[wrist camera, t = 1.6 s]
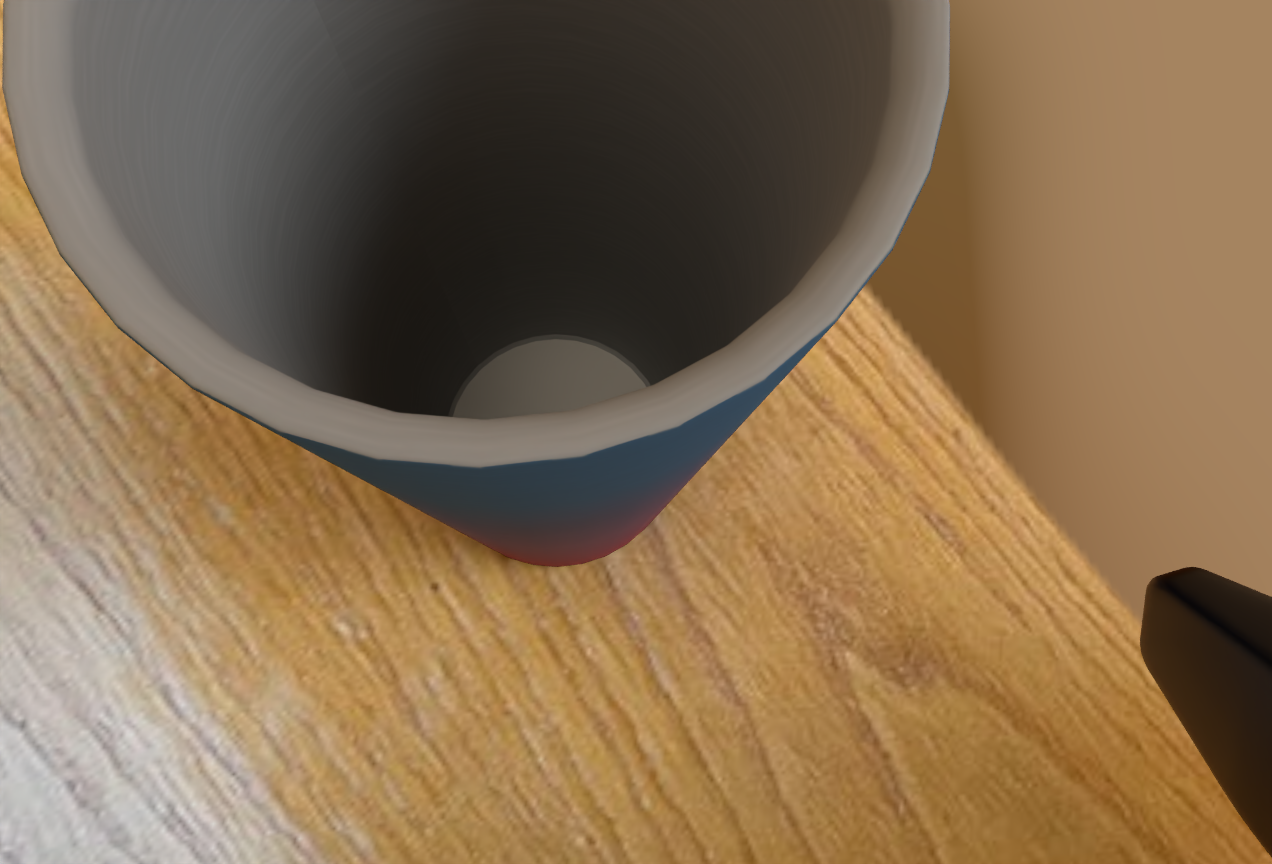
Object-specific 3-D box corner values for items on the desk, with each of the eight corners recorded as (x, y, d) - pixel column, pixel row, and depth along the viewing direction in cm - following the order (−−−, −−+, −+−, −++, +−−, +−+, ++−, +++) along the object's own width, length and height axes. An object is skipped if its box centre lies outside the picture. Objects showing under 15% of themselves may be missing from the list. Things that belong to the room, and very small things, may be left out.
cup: (787, 442, 23) (1141, 4, 8) (558, 684, 21) (477, 692, 7) (555, 229, 23) (490, -518, 9) (322, 449, 22) (-206, 0, 8)
